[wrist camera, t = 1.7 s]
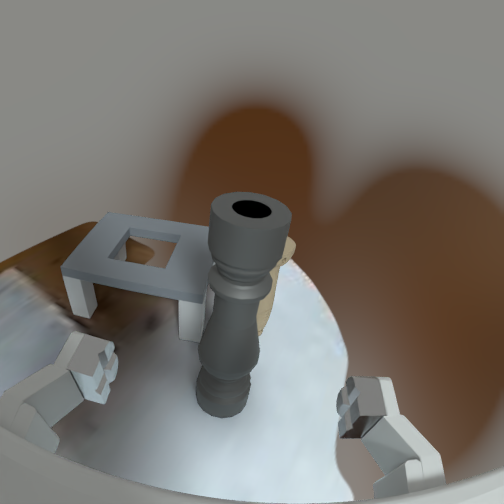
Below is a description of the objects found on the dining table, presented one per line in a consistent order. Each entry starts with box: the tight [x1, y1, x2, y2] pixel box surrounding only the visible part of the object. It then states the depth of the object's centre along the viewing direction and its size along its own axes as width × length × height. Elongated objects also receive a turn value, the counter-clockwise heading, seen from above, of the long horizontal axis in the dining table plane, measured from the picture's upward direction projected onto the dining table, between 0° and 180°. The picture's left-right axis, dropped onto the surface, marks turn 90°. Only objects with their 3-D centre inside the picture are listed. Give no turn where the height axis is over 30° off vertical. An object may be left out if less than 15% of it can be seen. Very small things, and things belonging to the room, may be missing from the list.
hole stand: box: [61, 212, 215, 343], centre depth 46 cm, size 20×16×9 cm
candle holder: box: [196, 192, 292, 418], centre depth 29 cm, size 6×6×25 cm
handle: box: [256, 237, 296, 336], centre depth 42 cm, size 5×6×15 cm
